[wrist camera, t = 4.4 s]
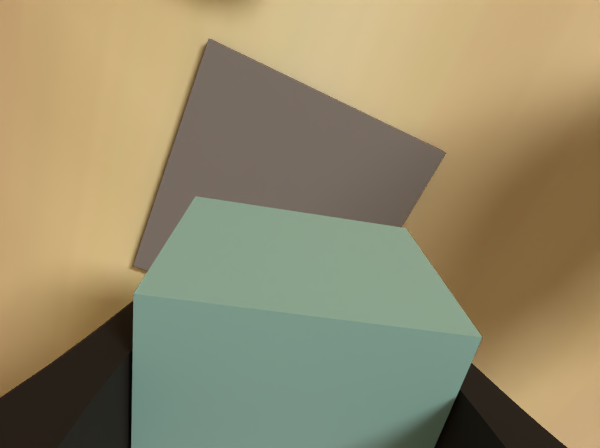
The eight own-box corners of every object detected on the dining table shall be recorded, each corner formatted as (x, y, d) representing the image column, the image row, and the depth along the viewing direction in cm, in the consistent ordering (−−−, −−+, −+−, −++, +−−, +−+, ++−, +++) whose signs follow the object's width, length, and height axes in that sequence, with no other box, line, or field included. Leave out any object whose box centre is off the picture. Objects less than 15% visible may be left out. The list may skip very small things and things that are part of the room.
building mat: (443, 151, 16) (446, 153, 16) (334, 333, 20) (335, 337, 19) (210, 38, 14) (208, 38, 14) (135, 262, 18) (132, 266, 17)
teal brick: (357, 384, 11) (393, 541, 8) (182, 365, 11) (129, 523, 7) (405, 227, 9) (482, 337, 6) (195, 195, 9) (133, 293, 5)
